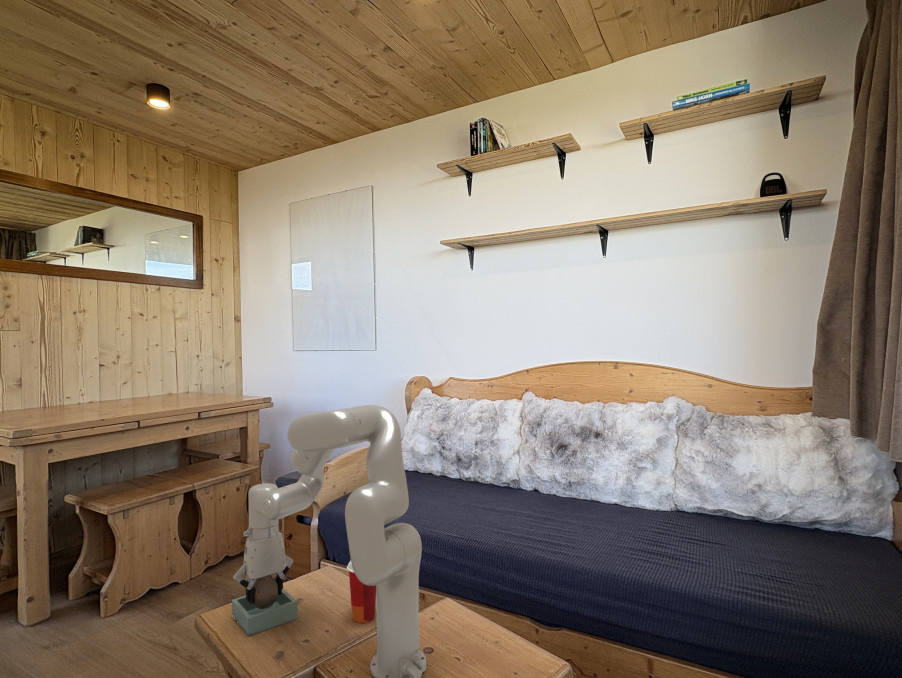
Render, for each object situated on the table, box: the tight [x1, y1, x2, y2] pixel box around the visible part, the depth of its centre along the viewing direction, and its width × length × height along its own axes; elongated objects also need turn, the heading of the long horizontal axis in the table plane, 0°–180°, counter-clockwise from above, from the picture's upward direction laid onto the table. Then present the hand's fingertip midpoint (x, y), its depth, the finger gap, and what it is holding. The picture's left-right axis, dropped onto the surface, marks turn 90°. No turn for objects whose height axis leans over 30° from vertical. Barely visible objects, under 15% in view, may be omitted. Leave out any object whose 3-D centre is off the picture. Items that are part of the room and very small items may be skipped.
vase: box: [252, 575, 278, 609], centre depth 137 cm, size 7×7×9 cm
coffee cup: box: [346, 560, 377, 624], centre depth 136 cm, size 8×8×15 cm
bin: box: [231, 588, 299, 638], centre depth 137 cm, size 13×13×4 cm
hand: (264, 597), depth 137 cm, fingers closed on vase, 6 cm apart
